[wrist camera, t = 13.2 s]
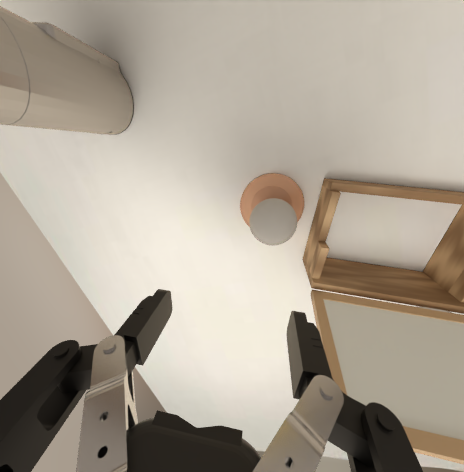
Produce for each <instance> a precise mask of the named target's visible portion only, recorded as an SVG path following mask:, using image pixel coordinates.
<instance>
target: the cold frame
mask: <svg viewBox="0 0 464 472" xmlns="http://www.w3.org/2000/svg"><path fill="white" fill-rule="evenodd" d="M339 191H341V192H351V193H360V194H369V195H379V196H388V197H397V198H407V199H416V200H425V201H435V202H444V203H453V204H462V206H461V208H460V210H459V211H458V213H457V215H456V216H455V218H454V220H453V222H452V223H451V225H450V227H449V228H448V230H447V232H446V233H445V235H444V237H443V238H442V240H441V242H440V243H439V245H438V247H437V249H436V250H435V252H434V254H433V255H432V257H431V259H430V260H429V262H428V264H427V265H426V267H425V269H424V270H423V272H420V271H413V270H407V269H400V268H393V267H386V266H380V265H373V264H366V263H359V262H352V261H346V260H339V259H332V258H326V257H327V254H328V251H329V247H328V246H327V244H326V243H325V241H326V238H327V235H328V232H329V229H330V225H331V222H332V219H333V216H334V213H335V209H336V206H337V203H338V200H339V197H340V194H341V193H340V192H339ZM303 262H304V265H305V269H306V272H307V275H308V278H309V281H310V285H311V288H314V289H320V290H326V291H332V292H338V293H344V294H350V295H356V296H362V297H368V298H374V299H380V300H386V301H392V302H398V303H404V304H410V305H416V306H421V307H427V308H433V309H439V310H445V311H451V312H457V313H463V314H464V192H455V191H445V190H435V189H425V188H415V187H405V186H395V185H385V184H376V183H366V182H356V181H346V180H336V179H326V178H324V182H323V185H322V189H321V193H320V196H319V200H318V204H317V208H316V211H315V215H314V219H313V222H312V226H311V230H310V233H309V237H308V241H307V245H306V248H305V252H304V256H303Z"/></svg>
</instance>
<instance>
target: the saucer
mask: <svg viewBox="0 0 464 472" xmlns="http://www.w3.org/2000/svg"><path fill="white" fill-rule="evenodd" d="M271 198H277V199H281V200H284V201H286V202H287V203H289V204H290V205H291V206H292V207H293V209H294V211H295V213H296V216H297V222H298V221H299V219H300V218H301V215H302V213H303V209H304V197H303V194H302V191H301V189H300V188H299V186H298V185H297V184H296V183H295V182H294V181H293V180H292V179H290V178H289V177H287V176H285V175H282V174H275V173H271V174H265V175H262V176H259V177H257V178H256V179H254V180H253V181H252V182H251V183H250V184H249V185H248V186H247V187H246V189H245V190H244V192H243V194H242V197H241V202H240V208H241V214H242V216H243V219H244V221H245V222H246V223H247V225H248V226H249V227H250V224H249V221H250V215H251V213H252V211H253V209H254V208H255V206H256V205H257V204H259V203H260V202H262V201H264V200H266V199H271Z"/></svg>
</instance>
